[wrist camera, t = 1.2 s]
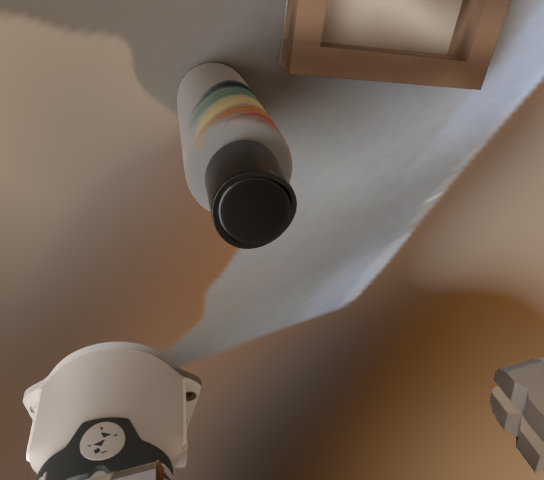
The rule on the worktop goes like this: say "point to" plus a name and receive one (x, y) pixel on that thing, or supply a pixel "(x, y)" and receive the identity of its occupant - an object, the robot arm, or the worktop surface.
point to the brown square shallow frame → (393, 40)
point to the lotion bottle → (234, 157)
